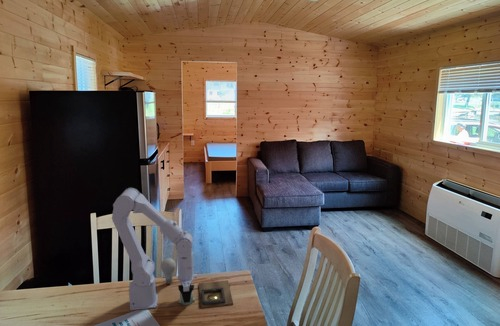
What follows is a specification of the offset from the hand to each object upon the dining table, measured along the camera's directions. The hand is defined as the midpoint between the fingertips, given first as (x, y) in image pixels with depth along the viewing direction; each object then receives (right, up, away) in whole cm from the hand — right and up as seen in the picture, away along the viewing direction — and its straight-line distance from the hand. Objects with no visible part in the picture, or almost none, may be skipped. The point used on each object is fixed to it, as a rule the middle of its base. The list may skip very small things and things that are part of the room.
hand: (186, 297), depth 136 cm
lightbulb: (-9, +1, +13) cm, 16 cm away
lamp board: (+10, -1, +5) cm, 12 cm away
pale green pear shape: (0, -2, 0) cm, 2 cm away
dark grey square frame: (+10, -1, +2) cm, 10 cm away
